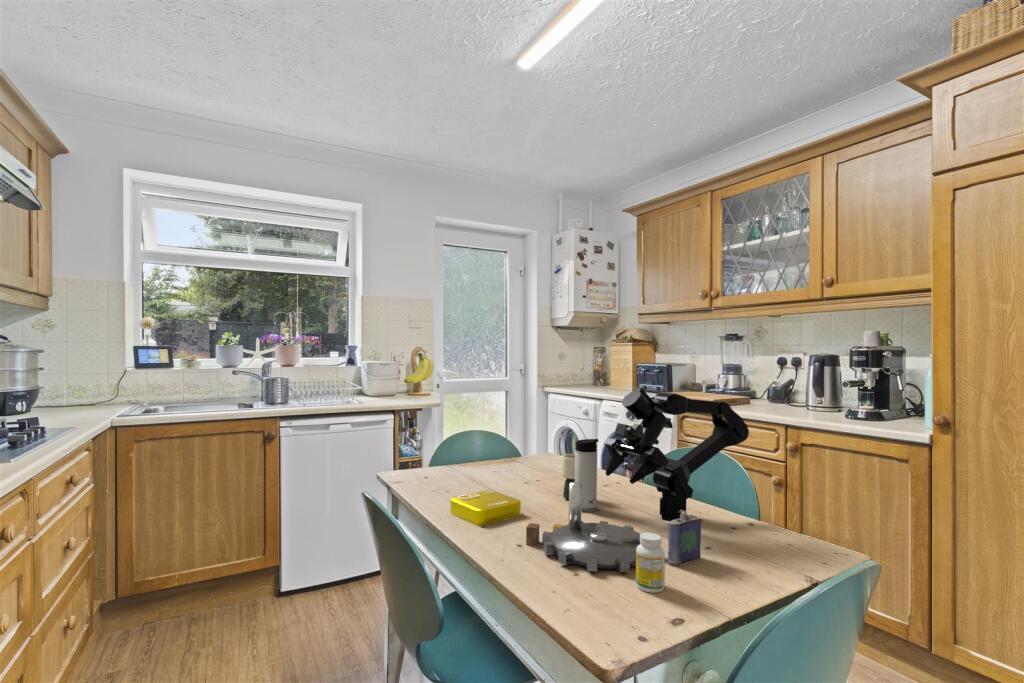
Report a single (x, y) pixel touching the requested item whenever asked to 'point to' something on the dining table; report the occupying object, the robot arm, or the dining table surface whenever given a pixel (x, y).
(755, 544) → the dining table surface
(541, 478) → the dining table surface
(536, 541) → the brown rectangular block
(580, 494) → the sprocket
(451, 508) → the element tile
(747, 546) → the dining table surface
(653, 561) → the supplement bottle
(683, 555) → the flask
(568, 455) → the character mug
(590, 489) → the travel mug
